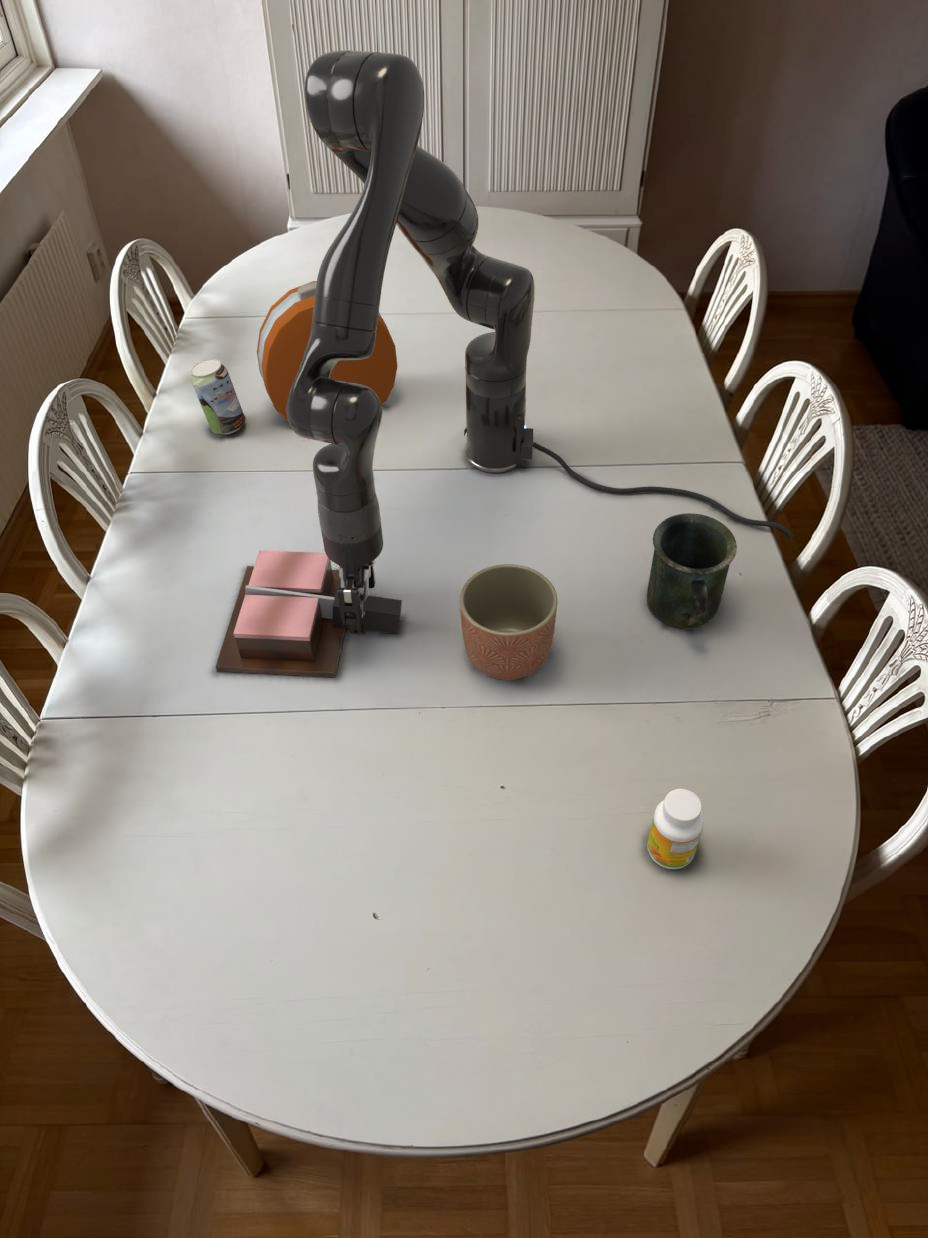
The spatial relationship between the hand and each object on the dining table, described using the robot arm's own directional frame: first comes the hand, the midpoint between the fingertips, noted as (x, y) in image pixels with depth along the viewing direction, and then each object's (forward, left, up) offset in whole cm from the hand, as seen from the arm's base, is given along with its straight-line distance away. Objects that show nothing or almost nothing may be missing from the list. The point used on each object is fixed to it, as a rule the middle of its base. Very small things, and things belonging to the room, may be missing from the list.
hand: (363, 609), depth 136 cm
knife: (+6, 0, -2) cm, 6 cm away
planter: (-20, +4, -3) cm, 21 cm away
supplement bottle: (-40, +32, -3) cm, 51 cm away
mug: (-44, -5, -3) cm, 44 cm away
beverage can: (+30, -43, -3) cm, 53 cm away
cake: (+11, 0, -3) cm, 11 cm away
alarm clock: (+13, -51, -3) cm, 53 cm away
